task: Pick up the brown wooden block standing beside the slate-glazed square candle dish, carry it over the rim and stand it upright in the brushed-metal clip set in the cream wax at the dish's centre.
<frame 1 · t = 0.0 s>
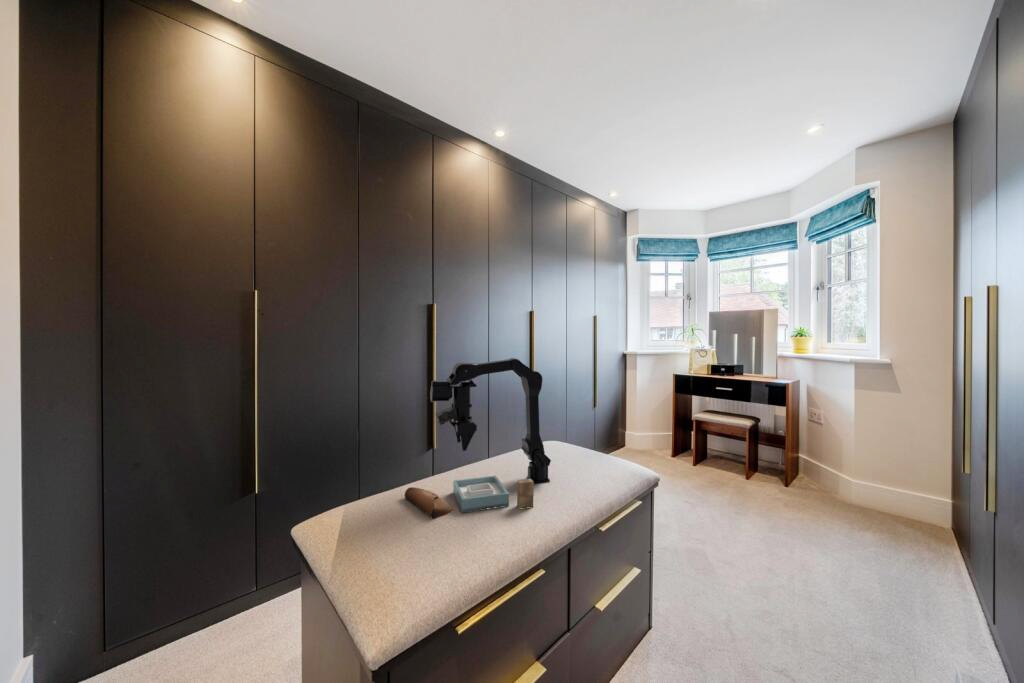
hand: (461, 446, 127), 15 cm above the table, tool pointing down, fingers open, 9 cm apart
brown wooden block: (525, 506, 116), on the table
candle dish: (480, 499, 121), on the table
sunglasses case: (429, 506, 117), on the table
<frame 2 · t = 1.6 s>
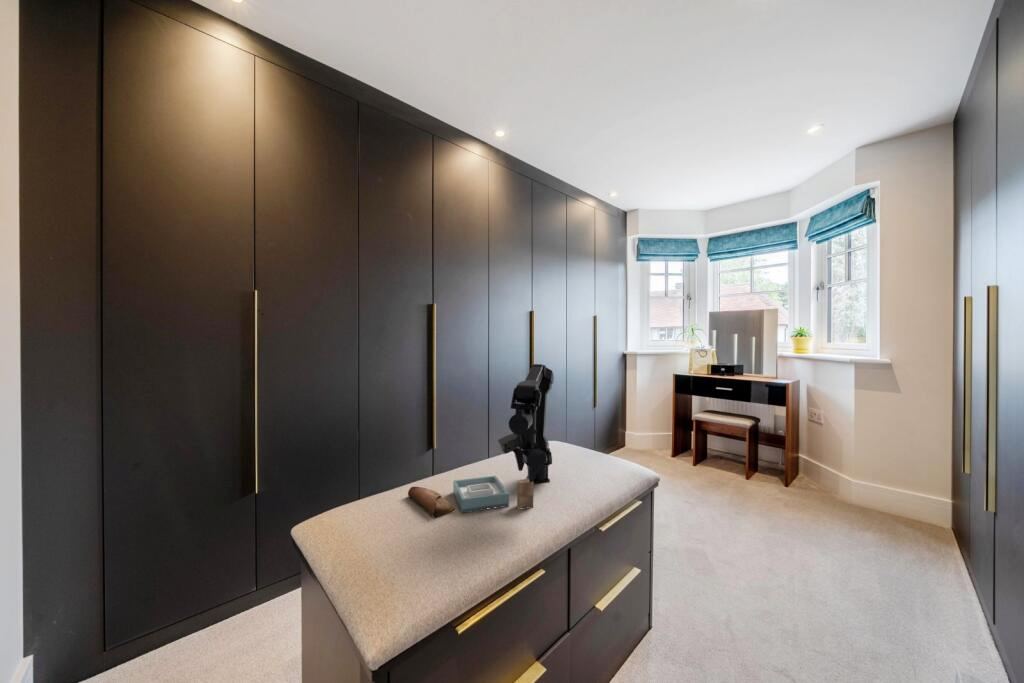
hand: (525, 476, 116), 9 cm above the table, tool pointing down, fingers open, 9 cm apart
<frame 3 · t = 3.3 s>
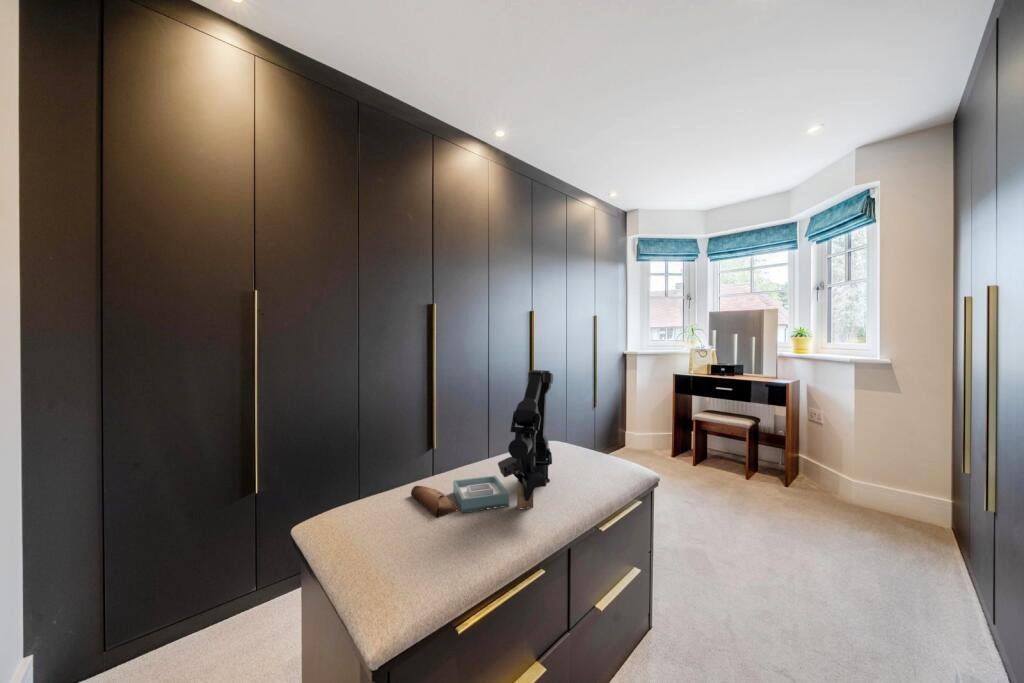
hand: (525, 498, 116), 2 cm above the table, tool pointing down, fingers closed on brown wooden block, 2 cm apart
brown wooden block: (525, 506, 116), on the table, touching gripper
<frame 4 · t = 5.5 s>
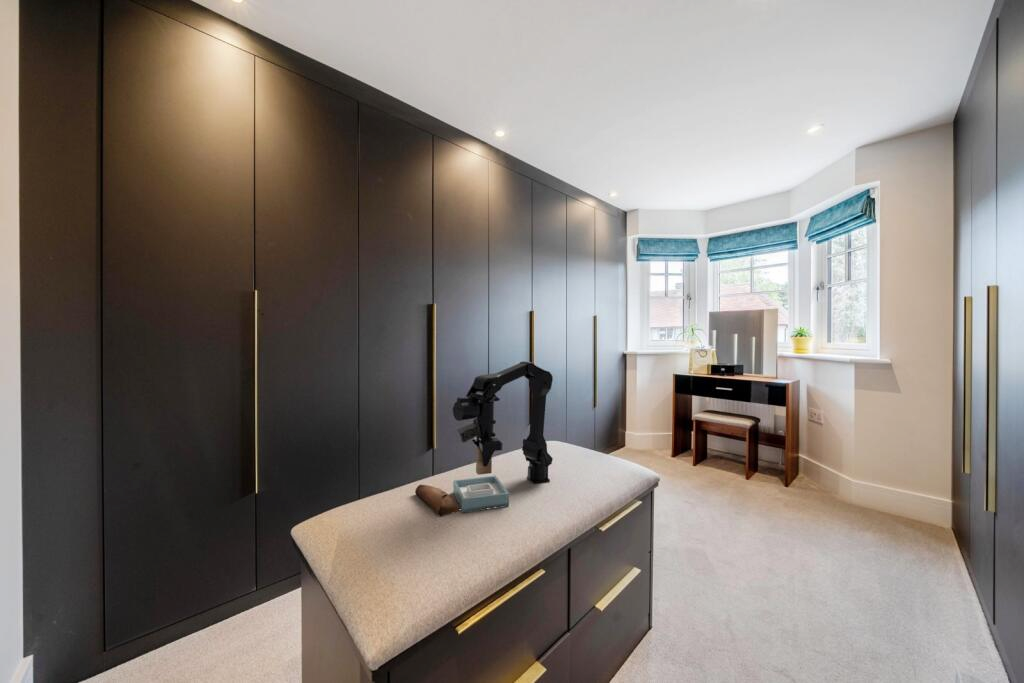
hand: (483, 464, 120), 11 cm above the table, tool pointing down, fingers closed on brown wooden block, 2 cm apart
brown wooden block: (483, 472, 120), point 9 cm above the table, touching gripper
sunglasses case: (438, 504, 118), on the table
when the fingers open (5 cm above the table, at t = 7.5 s): brown wooden block stays where it is, point 2 cm above the table.
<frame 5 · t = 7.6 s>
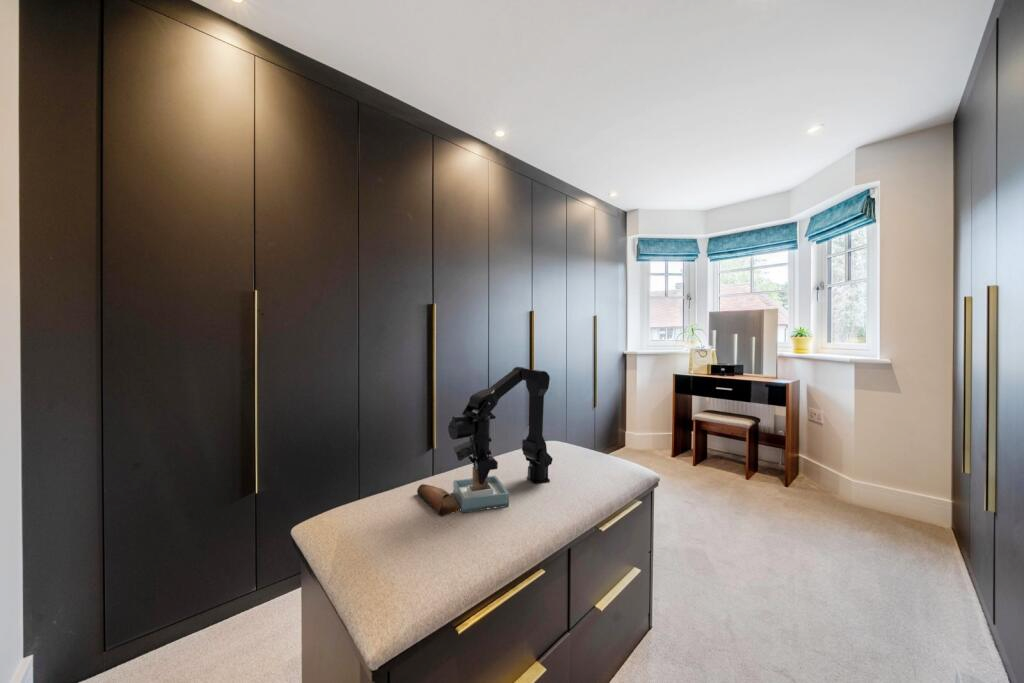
hand: (480, 482, 121), 5 cm above the table, tool pointing down, fingers open, 3 cm apart
brown wooden block: (480, 492, 121), point 2 cm above the table
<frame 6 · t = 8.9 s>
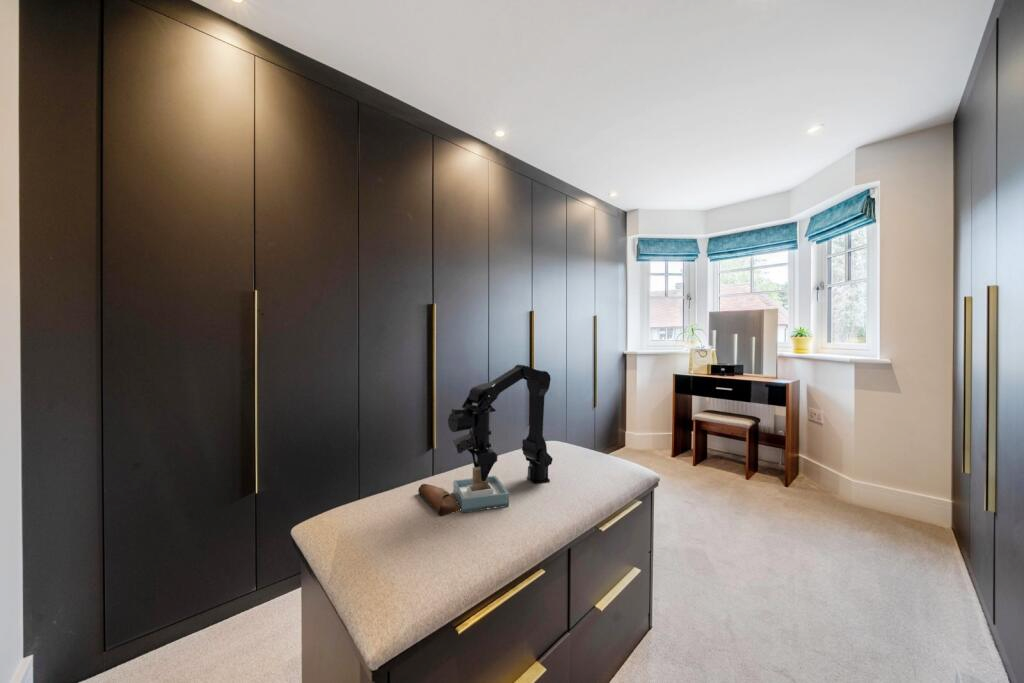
hand: (479, 475, 120), 8 cm above the table, tool pointing down, fingers open, 9 cm apart
brown wooden block: (480, 492, 121), point 2 cm above the table, touching candle dish
everything else where it was.
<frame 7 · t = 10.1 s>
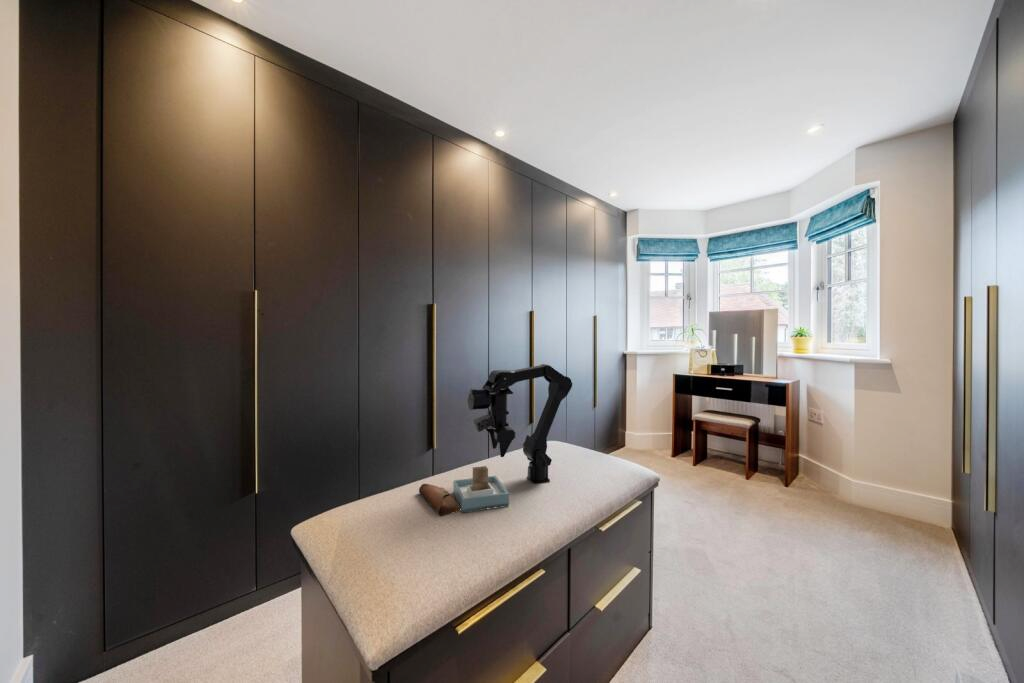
hand: (498, 452, 130), 12 cm above the table, tool pointing down, fingers open, 9 cm apart
nothing on the table moved.
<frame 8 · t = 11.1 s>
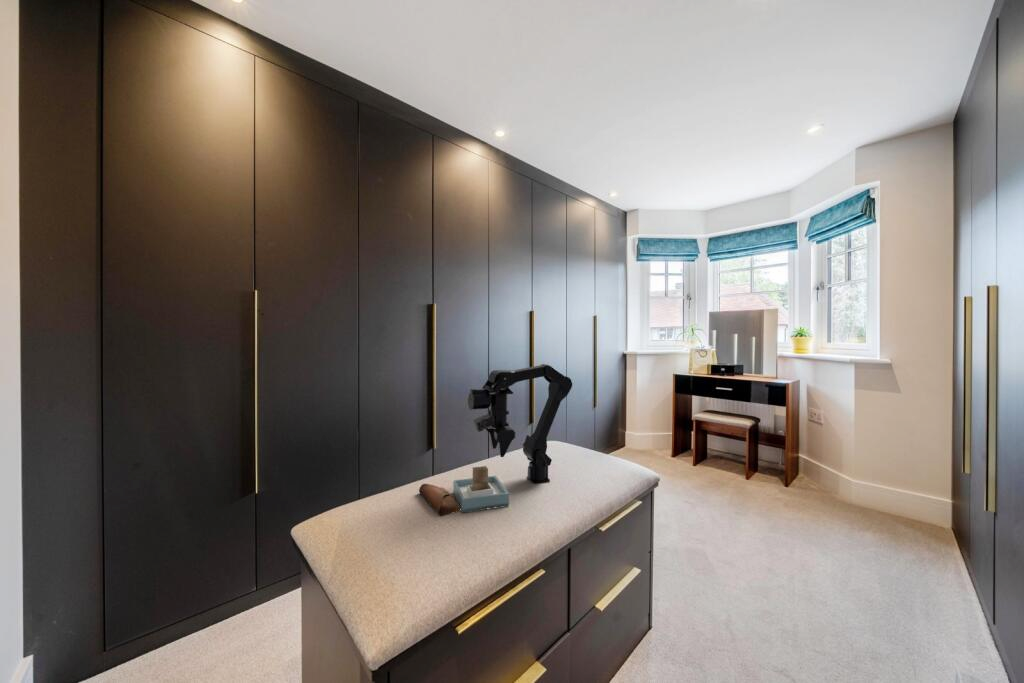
hand: (498, 452, 130), 12 cm above the table, tool pointing down, fingers open, 9 cm apart
nothing on the table moved.
at the end: brown wooden block 0.0 cm off-centre on the candle dish, point 2.0 cm above the candle dish's base; brown wooden block tilted 0°; the gripper is holding nothing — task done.
